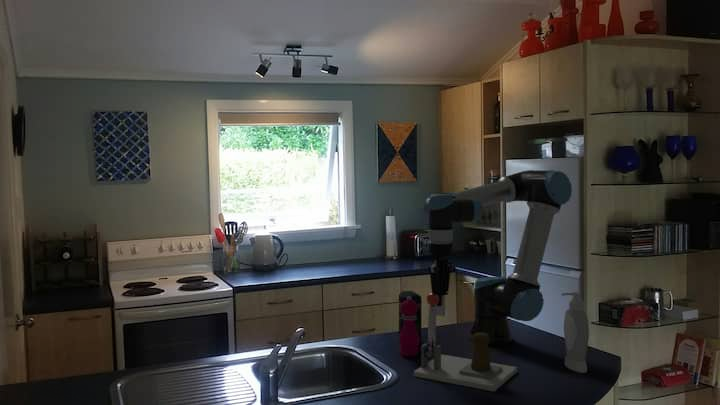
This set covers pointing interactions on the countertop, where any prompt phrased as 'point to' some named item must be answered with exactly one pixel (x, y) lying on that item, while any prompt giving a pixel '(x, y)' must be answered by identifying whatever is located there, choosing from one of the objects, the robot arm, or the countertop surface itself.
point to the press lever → (431, 324)
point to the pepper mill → (409, 328)
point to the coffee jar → (417, 299)
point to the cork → (480, 353)
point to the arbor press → (462, 371)
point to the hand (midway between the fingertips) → (440, 315)
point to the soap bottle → (576, 334)
